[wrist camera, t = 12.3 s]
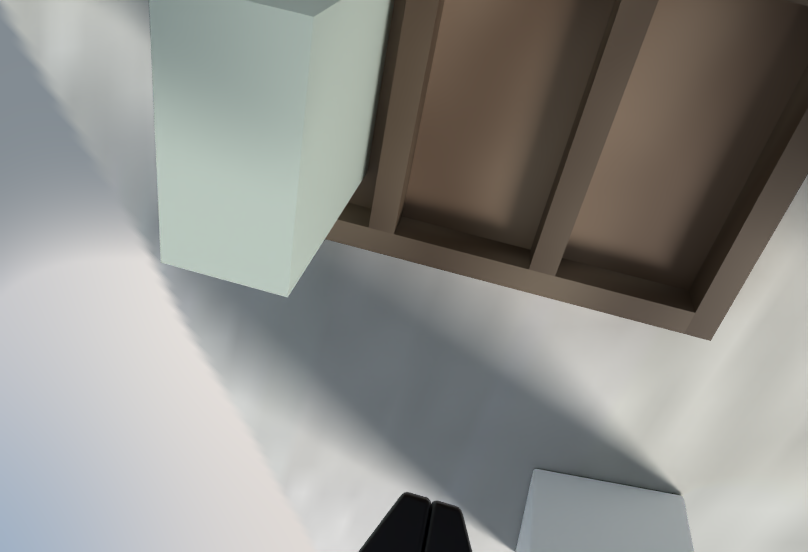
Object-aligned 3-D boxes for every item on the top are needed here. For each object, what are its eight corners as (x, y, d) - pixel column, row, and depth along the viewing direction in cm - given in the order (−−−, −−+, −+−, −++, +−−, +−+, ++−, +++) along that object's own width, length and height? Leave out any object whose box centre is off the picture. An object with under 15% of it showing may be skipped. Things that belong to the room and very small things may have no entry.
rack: (901, -43, 15) (996, -16, 12) (702, 315, 21) (728, 398, 18) (241, -185, 16) (159, -197, 13) (231, 192, 22) (174, 248, 19)
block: (400, -37, 17) (313, 16, 11) (366, 172, 20) (287, 297, 14) (289, -62, 17) (147, -24, 11) (275, 148, 20) (160, 262, 14)
